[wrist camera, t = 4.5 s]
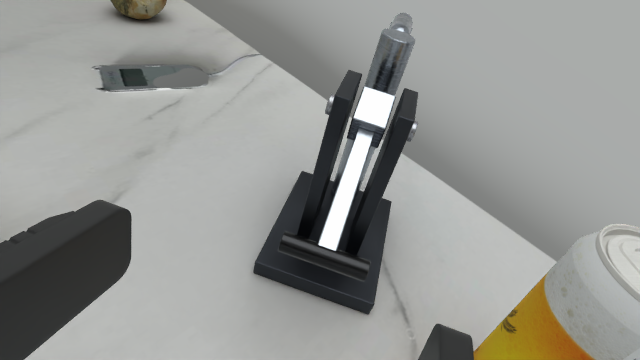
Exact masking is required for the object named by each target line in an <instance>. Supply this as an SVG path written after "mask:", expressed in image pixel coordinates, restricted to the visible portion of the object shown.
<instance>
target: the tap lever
mask: <svg viewBox="0 0 640 360" xmlns="http://www.w3.org/2000/svg"><path fill="white" fill-rule="evenodd" d="M395 98H396V97H395V96H394V95H391V94H388V93H385V92H381V91H378V90H375V89H372V88H369V87H366V86H364V87H363V90H362V93H361V96H360V98H359V101H358V104H357V107H356V109H355V112H354V115H353V118H352V121H351V125H350V128H349V132H348V135H347V138H348V139H351V140H354V142H353V145H352V147H351V150H350V153H349V156H348V159H347V162H346V165H345V167H344V170H343V173H342V176H341V179H340V182H339V185H338V187H337V190H336V193H335V196H334V199H333V202H332V204H331V207H330V210H329V213H328V216H327V219H326V222H325V224H324V227H323V230H322V233H321V236H320V239H319V242H316V241H313V240H310V239H308V238H305V237H302V236H299V235H296V234H293V233H291V232H288V231H285V232H284V234H283V236H282V238H281V241H280V244H279V247H278V251H279V252H281V253H284V254H287V255H290V256H293V257H295V258H298V259H301V260H304V261H307V262H309V263H312V264H315V265H318V266H321V267H323V268H326V269H329V270H332V271H335V272H337V273H340V274H343V275H346V276H349V277H351V278H354V279H357V280H360V281H363V282H364V281H365V279H366V277H367V275H368V272H369V268H370V264H371V261H370V260H367V259H364V258H361V257H359V256H356V255H353V254H350V253H347V252H344V251H342V250H339V249H337V248H338V245H339V242H340V239H341V236H342V233H343V230H344V227H345V223H346V220H347V217H348V214H349V211H350V208H351V205H352V202H353V199H354V196H355V193H356V190H357V186H358V183H359V180H360V177H361V174H362V171H363V168H364V165H365V162H366V159H367V156H368V153H369V149H370V146H372V147H375V148H378V146H379V144H380V141H381V139H382V137H383V134H384V132H385V129H386V127H387V124H388V120H389V117H390V114H391V111H392V108H393V104H394V101H395Z"/></svg>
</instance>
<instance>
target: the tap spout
mask: <svg viewBox="0 0 640 360" xmlns="http://www.w3.org/2000/svg"><path fill="white" fill-rule="evenodd" d="M411 31H412V18H411V17H410V15H408V14H407V13H400V14H398V15H397V16H396V17H395V18H394V20H393V22H391V25H390V28H389V29H384V30H383V31H382V33H381V36H380V39H379V42H378V45H377V48H376V52H375V55H374V58H373V61H372V64H371V67H370V70H369V73H368V77H367V80H366V83H365V86H366V87H369V88H372V89H375V90H378V91H381V92H385V93H388V94H391V95H394V96H395V94H396V91H397V89H398V86H399V83H400V81H401V78H402V75H403V73H404V70H405V68H406V65H407V62H408V60H409V57H410V54H411V52H412V49H413V46H414V44H415V39H414V38H413V37H412V36H411V35H410V33H411ZM353 142H354V140H351V139H347V143H346V146H345V149H344V152H343V155H342V158H341V161H340V164H339V168H338V171H337V174H336V177H335V180H334V183H333V186H332V190H331V195H332V197H333V198H334V196H335V193H336V190H337V187H338V185H339V182H340V179H341V176H342V173H343V170H344V167H345V165H346V162H347V159H348V156H349V153H350V150H351V147H352V145H353ZM374 150H375V147H372V146H370V149H369V153H368V156H367V159H366V162H365V165H364V168H363V171H362V174H361V177H360V180H359V183H358V186H357V190H356V193H355V196H354V199H353V202H354V201H355V200H356V198H357V195H358V192H359V190H360V187H361V184H362V182H363V179H364V176H365V174H366V171H367V168H368V166H369V163H370V160H371V158H372V155H373V152H374ZM353 202H352V203H353Z"/></svg>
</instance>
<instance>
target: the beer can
mask: <svg viewBox="0 0 640 360" xmlns="http://www.w3.org/2000/svg"><path fill="white" fill-rule="evenodd" d="M473 354H474V360H640V228H639V227H635V226H631V225H625V224H613V225H609V226H606V227H605V228H603V229H602V230H601V231H598V232H595V233H592V234H589V235H586V236H583V237H581V238H580V239H578V240H577V241H576V242H575V244H574V245H573V246H572V247H571V248H570V249H569V250H568V251H567V252H566V253H565V255H563V257H562V258H561V259H560V260H559V261H558V262H557V263H556V264H555V265H554V266H553V267H552V268H551V269H550V270H549V272H548V273H547V274H546V275H545V276H544V277H543V278H542V279H541V280H540V281H539V282H538V283H537V284H536V286H535V287H534V288H533V289H532V290H531V291H530V292H529V293H528V294H527V295H526V296H525V297H524V298H523V300H522V301H521V302H520V303H519V304H518V305H517V306H516V307H515V308H514V309H513V310H512V311H511V312H510V314H509V315H508V316H507V317H506V318H505V319H504V320H503V321H502V322H501V323H500V324H499V325H498V326H497V328H496V329H495V330H494V331H493V332H492V333H491V334H490V335H489V336H488V337H487V338H486V339H485V340H484V342H483V343H482V344H481V345H480V346H479V347H478V348H477V349H476V350H475V351H474V352H473Z"/></svg>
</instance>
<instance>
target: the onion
mask: <svg viewBox="0 0 640 360" xmlns="http://www.w3.org/2000/svg"><path fill="white" fill-rule="evenodd" d="M166 1H167V0H111V2H112V3H113V5H114V6H115V8H116V9H117V10H118V11H120V12H121V13H122V14H123V15H126V16H128V17H131V18H136V19H149V18H152V17H153V16H155V15H157V14H158V13H159V12H160V11H161V10H162V9H163V8H164V6H165V5H166Z"/></svg>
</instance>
